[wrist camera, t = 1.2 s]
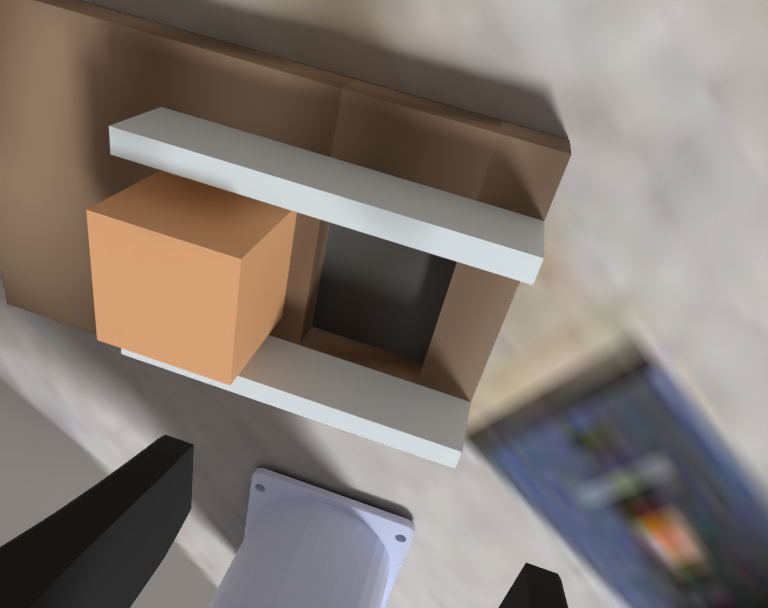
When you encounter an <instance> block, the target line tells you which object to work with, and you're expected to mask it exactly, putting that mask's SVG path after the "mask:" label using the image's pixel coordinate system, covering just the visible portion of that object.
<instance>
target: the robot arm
mask: <svg viewBox="0 0 768 608" xmlns="http://www.w3.org/2000/svg"><path fill="white" fill-rule="evenodd" d="M193 448H194V445H193V444H190V443H187V442H184V441H182V440H179V439H176V438H173V437H170V436H167V435H164V436H162V437H160V438H159V439H157V440H156V441H155V442H153V443H152V444H151V445H149V446H148V447H147V448H145V449H144V450H143V451H141V452H140V453H139V454H137V455H136V456H135V457H133V458H132V459H131V460H129V461H128V462H127V463H125V464H124V465H123V466H121V467H120V468H118V469H117V470H116V471H114V472H113V473H112V474H110V475H109V476H107V477H106V478H105V479H103V480H102V481H100V482H99V483H98V484H96V485H95V486H94V487H92V488H91V489H89V490H88V491H86V492H84V493H83V494H82V495H80V496H79V497H77V498H76V499H74V500H73V501H71V502H70V503H68V504H67V505H65V506H64V507H63V508H61V509H60V510H58V511H57V512H55V513H54V514H52V515H50V516H49V517H48V518H46V519H44V520H43V521H41V522H39V523H38V524H36V525H35V526H33V527H32V528H30V529H28V530H27V531H25V532H24V533H22V534H20V535H19V536H17V537H16V538H14V539H12V540H11V541H9V542H8V543H6V544H4V545H3V546H1V547H0V608H130V607H131V605H132V604H133V602H134V601H135V600H136V598H137V597H138V595H139V594H140V592H141V591H142V589H143V588H144V587H145V585H146V584H147V582H148V581H149V579H150V578H151V576H152V575H153V574H154V572H155V571H156V569H157V568H158V566H159V565H160V563H161V562H162V560H163V559H164V557H165V556H166V554H167V552H168V550H169V548H170V547H171V545H172V543H173V541H174V540H175V538H176V536H177V534H178V532H179V530H180V529H181V527H182V525H183V523H184V521H185V519H186V517H187V516H188V514H189V512H190V510H191V499H192V474H193ZM414 531H415V525H414V523H413V522H411V521H410V520H408V519H406V518H403V517H400V516H398V515H395V514H392V513H389V512H386V511H383V510H381V509H378V508H375V507H372V506H369V505H366V504H364V503H361V502H358V501H355V500H352V499H350V498H347V497H344V496H341V495H338V494H335V493H333V492H330V491H327V490H324V489H321V488H319V487H316V486H313V485H310V484H307V483H304V482H302V481H299V480H296V479H293V478H290V477H288V476H285V475H282V474H279V473H276V472H273V471H271V470H268V469H265V468H258V469H256V470H255V472H254V473H253V475H252V479H251V486H250V494H249V502H248V510H247V518H246V526H245V533H244V540H243V542H242V544H241V546H240V548H239V549H238V551H237V553H236V555H235V557H234V559H233V561H232V563H231V565H230V567H229V568H228V570H227V572H226V574H225V576H224V578H223V580H222V582H221V584H220V585H219V587H218V589H217V591H216V593H215V595H214V597H213V599H212V601H211V603H210V604H209V606H208V608H385V605H386V603H387V600H388V598H389V595H390V593H391V590H392V588H393V585H394V583H395V580H396V578H397V575H398V573H399V570H400V568H401V565H402V563H403V560H404V558H405V555H406V553H407V550H408V548H409V545H410V543H411V540H412V538H413V535H414ZM499 608H568V605H567V601H566V597H565V593H564V589H563V585H562V581H561V579H560V577H559V575H558V574H557V573H554V572H551V571H548V570H546V569H543V568H540V567H537V566H534V565H531V564H529V563H526V564H525V565H524V567H523V569H522V570H521V572H520V573H519V575H518V577H517V578H516V580H515V582H514V583H513V585H512V587H511V588H510V590H509V592H508V593H507V595H506V596H505V598H504V600H503V601H502V603H501V605H500V606H499Z"/></svg>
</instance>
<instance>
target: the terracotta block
mask: <svg viewBox="0 0 768 608" xmlns="http://www.w3.org/2000/svg"><path fill="white" fill-rule="evenodd" d="M86 212H87V224H88V236H89V248H90V260H91V272H92V284H93V296H94V308H95V320H96V332H97V340H99V341H102V342H105V343H108V344H111V345H113V346H116V347H119V348H122V349H125V350H128V351H131V352H134V353H137V354H140V355H143V356H146V357H148V358H151V359H154V360H157V361H160V362H163V363H166V364H169V365H172V366H175V367H178V368H181V369H184V370H186V371H189V372H192V373H195V374H198V375H201V376H204V377H207V378H210V379H213V380H216V381H219V382H221V383H224V384H227V385H231V384H232V383H233V381H234V380H235V379H236V377H237V376H238V375H239V373H240V372H241V371H242V369H243V368H244V367H245V365H246V364H247V363H248V361H249V360H250V359H251V357H252V356H253V355H254V353H255V352H256V351H257V349H258V348H259V347H260V346H261V344H262V343H263V342H264V340H265V339H266V338H267V336H268V335H269V334H270V332H271V331H272V330H273V328H274V327H275V326H276V324H277V323H278V322H279V320H280V319H281V318H282V315H283V308H284V301H285V294H286V286H287V279H288V272H289V265H290V258H291V251H292V243H293V236H294V229H295V222H296V215H297V212H295V211H292V210H288V209H285V208H282V207H279V206H276V205H272V204H269V203H266V202H263V201H259V200H256V199H253V198H250V197H246V196H243V195H240V194H237V193H234V192H230V191H227V190H224V189H221V188H217V187H214V186H211V185H208V184H204V183H201V182H198V181H195V180H191V179H188V178H185V177H182V176H179V175H175V174H172V173H169V172H166V171H162V170H160V171H159V172H157V173H155V174H153V175H151V176H149V177H147V178H145V179H143V180H141V181H140V182H138V183H136V184H134V185H132V186H130V187H128V188H126V189H124V190H123V191H121V192H119V193H117V194H115V195H113V196H111V197H109V198H107V199H106V200H104V201H102V202H100V203H98V204H96V205H94V206H92V207H90V208H89V209H87V210H86Z"/></svg>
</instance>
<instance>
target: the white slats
mask: <svg viewBox="0 0 768 608" xmlns="http://www.w3.org/2000/svg"><path fill="white" fill-rule="evenodd" d="M109 137H110V154H111V155H114V156H117V157H120V158H124V159H127V160H130V161H133V162H137V163H140V164H143V165H146V166H149V167H153V168H156V169H159V170H162V171H166V172H169V173H172V174H175V175H179V176H182V177H185V178H188V179H191V180H195V181H198V182H201V183H204V184H208V185H211V186H214V187H217V188H221V189H224V190H227V191H230V192H234V193H237V194H240V195H243V196H246V197H250V198H253V199H256V200H259V201H263V202H266V203H269V204H272V205H276V206H279V207H282V208H285V209H288V210H292V211H295V212H298V213H301V214H305V215H308V216H311V217H314V218H318V219H321V220H324V221H327V222H330V223H334V224H337V225H340V226H343V227H347V228H350V229H353V230H356V231H360V232H363V233H366V234H369V235H372V236H376V237H379V238H382V239H385V240H389V241H392V242H395V243H398V244H402V245H405V246H408V247H411V248H415V249H418V250H421V251H424V252H427V253H431V254H434V255H437V256H440V257H444V258H447V259H450V260H453V261H457V262H460V263H463V264H466V265H469V266H473V267H476V268H479V269H482V270H486V271H489V272H492V273H495V274H499V275H502V276H505V277H508V278H511V279H515V280H518V281H521V282H524V283H528V284H531V285H533V283H534V281H535V279H536V276H537V274H538V271H539V269H540V267H541V264H542V262H543V260H544V221H542V220H539V219H536V218H532V217H529V216H526V215H522V214H519V213H516V212H512V211H509V210H506V209H502V208H499V207H496V206H492V205H489V204H486V203H482V202H479V201H475V200H472V199H469V198H465V197H462V196H459V195H455V194H452V193H449V192H445V191H442V190H439V189H435V188H432V187H429V186H425V185H422V184H419V183H415V182H412V181H408V180H405V179H402V178H398V177H395V176H392V175H388V174H385V173H382V172H378V171H375V170H372V169H368V168H365V167H362V166H358V165H355V164H352V163H348V162H345V161H341V160H338V159H335V158H331V157H328V156H325V155H321V154H318V153H315V152H311V151H308V150H305V149H301V148H298V147H295V146H291V145H288V144H285V143H281V142H278V141H274V140H271V139H268V138H264V137H261V136H258V135H254V134H251V133H248V132H244V131H241V130H238V129H234V128H231V127H228V126H224V125H221V124H217V123H214V122H211V121H207V120H204V119H201V118H197V117H194V116H191V115H187V114H184V113H181V112H177V111H174V110H171V109H167V108H164V107H160V108H157V109H154V110H151V111H149V112H146V113H143V114H140V115H138V116H135V117H132V118H129V119H127V120H124V121H121V122H118V123H116V124H113V125H110V126H109ZM121 354H123V355H126V356H129V357H131V358H134V359H137V360H140V361H143V362H146V363H149V364H152V365H155V366H158V367H161V368H164V369H166V370H169V371H172V372H175V373H178V374H181V375H184V376H187V377H190V378H193V379H196V380H198V381H201V382H204V383H207V384H210V385H213V386H216V387H219V388H222V389H225V390H228V391H230V392H233V393H236V394H239V395H242V396H245V397H248V398H251V399H254V400H257V401H260V402H263V403H265V404H268V405H271V406H274V407H277V408H280V409H283V410H286V411H289V412H292V413H295V414H297V415H300V416H303V417H306V418H309V419H312V420H315V421H318V422H321V423H324V424H327V425H329V426H332V427H335V428H338V429H341V430H344V431H347V432H350V433H353V434H356V435H359V436H361V437H364V438H367V439H370V440H373V441H376V442H379V443H382V444H385V445H388V446H391V447H394V448H396V449H399V450H402V451H405V452H408V453H411V454H414V455H417V456H420V457H423V458H426V459H428V460H431V461H434V462H437V463H440V464H443V465H446V466H449V467H452V468H456V465H457V463H458V461H459V458H460V456H461V454H462V450H463V444H464V438H465V432H466V427H467V421H468V415H469V409H470V403H471V402H469V401H466V400H463V399H460V398H457V397H454V396H451V395H448V394H445V393H442V392H439V391H436V390H433V389H430V388H427V387H424V386H421V385H418V384H415V383H412V382H409V381H406V380H403V379H400V378H397V377H394V376H391V375H388V374H385V373H382V372H379V371H376V370H373V369H370V368H367V367H364V366H361V365H358V364H355V363H352V362H349V361H346V360H343V359H340V358H337V357H334V356H331V355H328V354H325V353H322V352H319V351H316V350H313V349H310V348H307V347H304V346H301V345H298V344H295V343H292V342H288V341H285V340H282V339H279V338H276V337H273V336H270V335H268V336H267V338H266V339H265V340H264V342H263V343H262V344H261V346H260V347H259V348H258V349H257V351H256V352H255V353H254V355H253V356H252V357H251V359H250V360H249V361H248V363H247V364H246V365H245V367H244V368H243V369H242V371H241V372H240V373H239V375H238V376H237V377H236V379H235V380H234V381H233V383H232V384H231V385H227V384H224V383H221V382H219V381H216V380H213V379H210V378H207V377H204V376H201V375H198V374H195V373H192V372H189V371H186V370H184V369H181V368H178V367H175V366H172V365H169V364H166V363H163V362H160V361H157V360H154V359H151V358H148V357H146V356H143V355H140V354H137V353H134V352H131V351H128V350H125V349H122V348H121Z"/></svg>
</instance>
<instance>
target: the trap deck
mask: <svg viewBox="0 0 768 608" xmlns="http://www.w3.org/2000/svg"><path fill="white" fill-rule="evenodd" d="M160 107H164V108H167V109H171V110H174V111H177V112H181V113H184V114H187V115H191V116H194V117H197V118H201V119H204V120H207V121H211V122H214V123H217V124H221V125H224V126H228V127H231V128H234V129H238V130H241V131H244V132H248V133H251V134H254V135H258V136H261V137H264V138H268V139H271V140H274V141H278V142H281V143H285V144H288V145H291V146H295V147H298V148H301V149H305V150H308V151H311V152H315V153H318V154H321V155H325V156H328V157H331V158H335V159H338V160H341V161H345V162H348V163H352V164H355V165H358V166H362V167H365V168H368V169H372V170H375V171H378V172H382V173H385V174H388V175H392V176H395V177H398V178H402V179H405V180H408V181H412V182H415V183H419V184H422V185H425V186H429V187H432V188H435V189H439V190H442V191H445V192H449V193H452V194H455V195H459V196H462V197H465V198H469V199H472V200H475V201H479V202H482V203H486V204H489V205H492V206H496V207H499V208H502V209H506V210H509V211H512V212H516V213H519V214H522V215H526V216H529V217H532V218H536V219H539V220H542V221H544V220H545V218H546V215H547V213H548V210H549V208H550V205H551V203H552V201H553V198H554V196H555V193H556V191H557V188H558V186H559V183H560V181H561V178H562V176H563V173H564V171H565V169H566V166H567V164H568V161H569V159H570V156H571V148H570V141H569V140H568V139H564V138H561V137H557V136H554V135H550V134H547V133H543V132H540V131H536V130H533V129H529V128H526V127H522V126H519V125H515V124H512V123H508V122H504V121H501V120H497V119H494V118H490V117H487V116H483V115H480V114H476V113H473V112H469V111H466V110H462V109H459V108H455V107H452V106H448V105H445V104H441V103H438V102H434V101H431V100H427V99H424V98H420V97H417V96H413V95H409V94H406V93H402V92H399V91H395V90H392V89H388V88H385V87H381V86H378V85H374V84H371V83H367V82H364V81H360V80H357V79H353V78H350V77H346V76H343V75H339V74H336V73H332V72H329V71H325V70H322V69H318V68H314V67H311V66H307V65H304V64H300V63H297V62H293V61H290V60H286V59H283V58H279V57H276V56H272V55H269V54H265V53H262V52H258V51H255V50H251V49H248V48H244V47H241V46H237V45H234V44H230V43H226V42H223V41H219V40H216V39H212V38H209V37H205V36H202V35H198V34H195V33H191V32H188V31H184V30H181V29H177V28H174V27H170V26H167V25H163V24H160V23H156V22H153V21H149V20H146V19H142V18H139V17H135V16H131V15H128V14H124V13H121V12H117V11H114V10H110V9H107V8H103V7H100V6H96V5H93V4H89V3H86V2H82V1H79V0H0V268H1V273H2V279H3V284H4V290H5V295H6V300H7V304H10V305H12V306H15V307H18V308H21V309H24V310H27V311H30V312H33V313H36V314H39V315H42V316H45V317H48V318H51V319H53V320H56V321H59V322H62V323H65V324H68V325H71V326H74V327H77V328H80V329H83V330H86V331H89V332H92V333H94V334H97V332H96V320H95V308H94V296H93V284H92V272H91V260H90V248H89V236H88V224H87V212H86V210H87V209H89V208H90V207H92V206H94V205H96V204H98V203H100V202H102V201H104V200H106V199H107V198H109V197H111V196H113V195H115V194H117V193H119V192H121V191H123V190H124V189H126V188H128V187H130V186H132V185H134V184H136V183H138V182H140V181H141V180H143V179H145V178H147V177H149V176H151V175H153V174H155V173H157V172H159V171H160V170H159V169H156V168H153V167H149V166H146V165H143V164H140V163H137V162H133V161H130V160H127V159H124V158H120V157H117V156H114V155H111V154H110V137H109V126H110V125H113V124H116V123H118V122H121V121H124V120H127V119H129V118H132V117H135V116H138V115H140V114H143V113H146V112H149V111H151V110H154V109H157V108H160ZM519 282H520V281H518V280H515V279H511V278H508V277H505V276H502V275H499V274H495V273H492V272H489V271H486V270H482V269H479V268H476V267H473V266H469V265H466V264H463V263H460V262H457V261H453V260H450V259H447V258H444V257H440V256H437V255H434V254H431V253H427V252H424V251H421V250H418V249H415V248H411V247H408V246H405V245H402V244H398V243H395V242H392V241H389V240H385V239H382V238H379V237H376V236H372V235H369V234H366V233H363V232H360V231H356V230H353V229H350V228H347V227H343V226H340V225H337V224H334V223H330V222H327V221H324V220H321V219H318V218H314V217H311V216H308V215H305V214H301V213H298V212H297V215H296V222H295V229H294V236H293V243H292V251H291V258H290V265H289V272H288V279H287V286H286V294H285V301H284V308H283V315H282V318H281V319H280V320H279V322H278V323H277V324H276V326H275V327H274V328H273V330H272V331H271V332H270V334H269V335H270V336H273V337H276V338H279V339H282V340H285V341H288V342H292V343H295V344H298V345H301V346H304V347H307V348H310V349H313V350H316V351H319V352H322V353H325V354H328V355H331V356H334V357H337V358H340V359H343V360H346V361H349V362H352V363H355V364H358V365H361V366H364V367H367V368H370V369H373V370H376V371H379V372H382V373H385V374H388V375H391V376H394V377H397V378H400V379H403V380H406V381H409V382H412V383H415V384H418V385H421V386H424V387H427V388H430V389H433V390H436V391H439V392H442V393H445V394H448V395H451V396H454V397H457V398H460V399H463V400H466V401H469V402H471V400H472V398H473V395H474V393H475V390H476V388H477V385H478V383H479V380H480V378H481V375H482V373H483V370H484V368H485V366H486V363H487V361H488V358H489V356H490V353H491V351H492V348H493V346H494V343H495V341H496V338H497V336H498V334H499V331H500V329H501V326H502V324H503V321H504V319H505V316H506V314H507V311H508V309H509V306H510V304H511V301H512V299H513V297H514V294H515V292H516V289H517V287H518V284H519Z"/></svg>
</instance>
